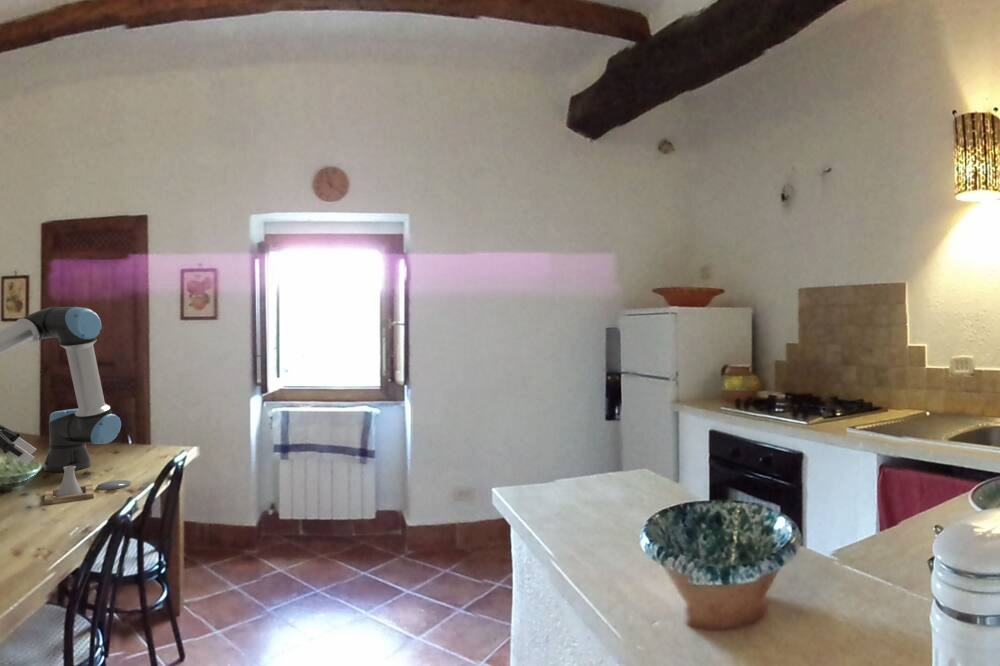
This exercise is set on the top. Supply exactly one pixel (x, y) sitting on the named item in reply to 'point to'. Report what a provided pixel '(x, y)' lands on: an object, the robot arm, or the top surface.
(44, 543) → the top surface
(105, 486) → the coaster
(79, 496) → the holder
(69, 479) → the flask
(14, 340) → the robot arm
